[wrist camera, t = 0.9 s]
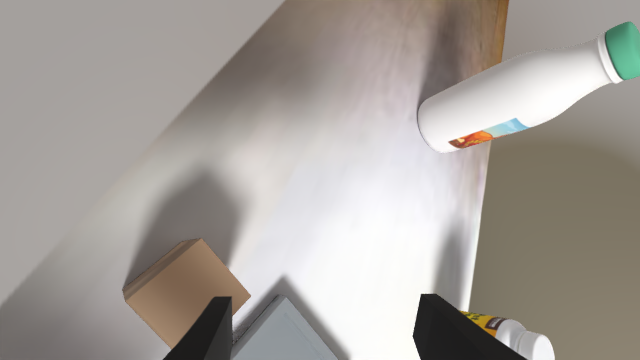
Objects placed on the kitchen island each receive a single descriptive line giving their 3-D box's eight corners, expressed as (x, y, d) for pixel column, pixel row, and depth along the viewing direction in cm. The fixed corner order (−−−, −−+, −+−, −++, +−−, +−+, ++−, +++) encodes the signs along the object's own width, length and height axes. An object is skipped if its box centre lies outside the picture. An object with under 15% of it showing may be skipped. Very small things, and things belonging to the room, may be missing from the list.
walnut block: (169, 338, 21) (186, 364, 16) (122, 289, 20) (125, 301, 15) (222, 286, 23) (251, 296, 18) (182, 241, 22) (201, 238, 17)
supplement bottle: (441, 296, 36) (540, 310, 28) (462, 334, 37) (565, 358, 28) (417, 334, 33) (521, 361, 25) (441, 374, 34) (550, 413, 25)
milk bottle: (412, 139, 39) (631, 55, 22) (418, 89, 41) (617, -18, 25) (451, 163, 42) (664, 106, 26) (454, 116, 45) (649, 37, 29)
